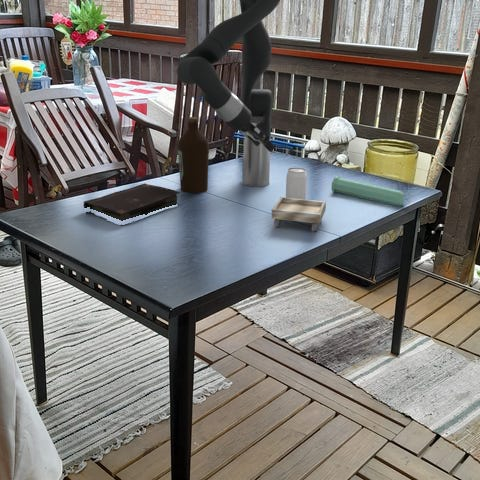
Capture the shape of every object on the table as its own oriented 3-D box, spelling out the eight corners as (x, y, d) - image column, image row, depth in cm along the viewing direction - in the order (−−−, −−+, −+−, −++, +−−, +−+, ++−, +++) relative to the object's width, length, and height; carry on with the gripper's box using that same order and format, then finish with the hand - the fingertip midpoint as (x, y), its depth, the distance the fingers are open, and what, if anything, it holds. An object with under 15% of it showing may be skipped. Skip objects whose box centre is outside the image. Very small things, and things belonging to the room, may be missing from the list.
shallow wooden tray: (271, 227, 174) (271, 209, 171) (279, 214, 184) (280, 197, 182) (318, 233, 170) (320, 214, 168) (324, 219, 181) (325, 201, 179)
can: (306, 209, 189) (308, 172, 185) (285, 208, 189) (287, 172, 185) (304, 202, 195) (306, 167, 191) (284, 202, 195) (286, 166, 191)
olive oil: (208, 184, 212) (208, 114, 202) (209, 194, 202) (209, 120, 193) (179, 185, 211) (177, 114, 202) (178, 194, 201) (176, 120, 192)
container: (407, 187, 193) (338, 172, 206) (399, 197, 189) (330, 182, 203) (407, 201, 196) (339, 186, 210) (400, 212, 193) (332, 195, 207)
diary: (83, 215, 184) (82, 199, 182) (143, 196, 202) (142, 181, 200) (123, 228, 173) (122, 212, 171) (183, 207, 191) (182, 192, 189)
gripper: (252, 104, 165) (285, 141, 174) (229, 97, 177) (262, 132, 186) (234, 125, 165) (269, 161, 174) (213, 116, 176) (247, 151, 185)
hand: (265, 146), depth 180 cm, fingers open, 8 cm apart
